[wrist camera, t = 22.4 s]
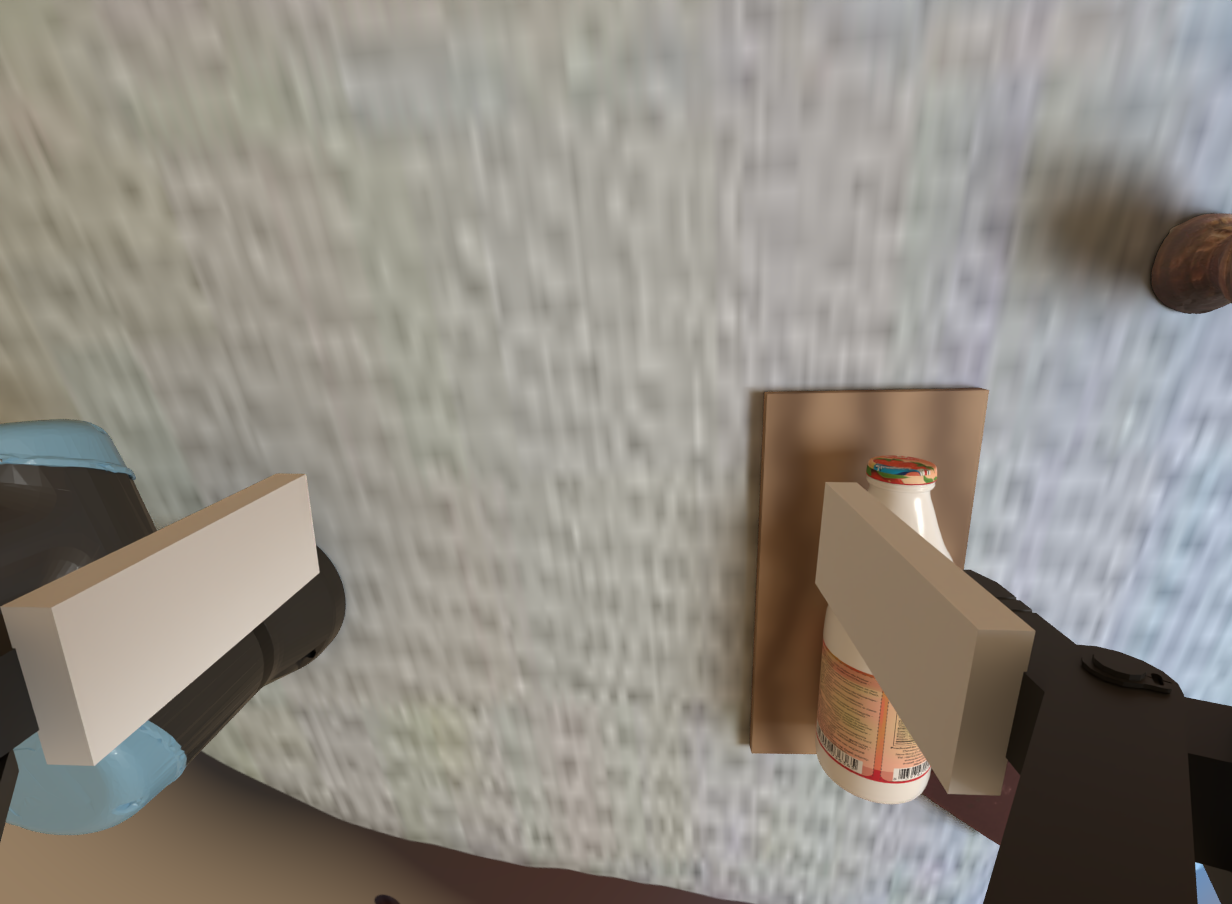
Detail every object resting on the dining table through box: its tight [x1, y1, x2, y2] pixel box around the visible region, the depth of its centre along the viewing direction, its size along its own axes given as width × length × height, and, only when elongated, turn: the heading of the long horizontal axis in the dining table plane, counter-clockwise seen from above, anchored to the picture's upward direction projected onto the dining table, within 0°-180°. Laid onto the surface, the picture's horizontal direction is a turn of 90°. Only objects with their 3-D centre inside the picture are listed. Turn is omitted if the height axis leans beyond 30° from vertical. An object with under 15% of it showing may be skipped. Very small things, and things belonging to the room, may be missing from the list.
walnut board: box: [750, 388, 989, 754], centre depth 53 cm, size 18×36×1 cm, turn 1°
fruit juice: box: [815, 456, 953, 804], centre depth 48 cm, size 9×9×28 cm
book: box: [922, 761, 1020, 845], centre depth 56 cm, size 12×19×3 cm, turn 144°
